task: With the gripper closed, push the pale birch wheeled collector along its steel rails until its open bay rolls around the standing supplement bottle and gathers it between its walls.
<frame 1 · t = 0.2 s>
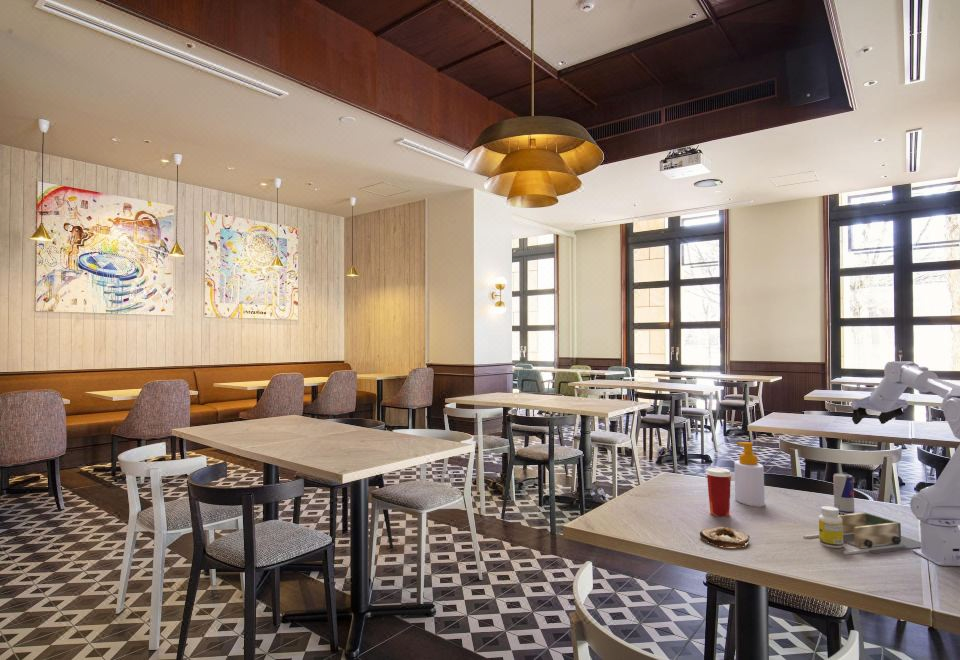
hand: (867, 421, 164), 31 cm above the table, tool tilted 45°, fingers open, 7 cm apart
paper cup: (719, 514, 174), on the table
supplement bottle: (831, 545, 145), on the table
ring pastry: (724, 543, 149), on the table
energy drink: (844, 513, 174), on the table
soap bottle: (749, 502, 187), on the table
track: (866, 540, 148), on the table
cart: (861, 529, 148), point 3 cm above the table, slide at 0.0 cm
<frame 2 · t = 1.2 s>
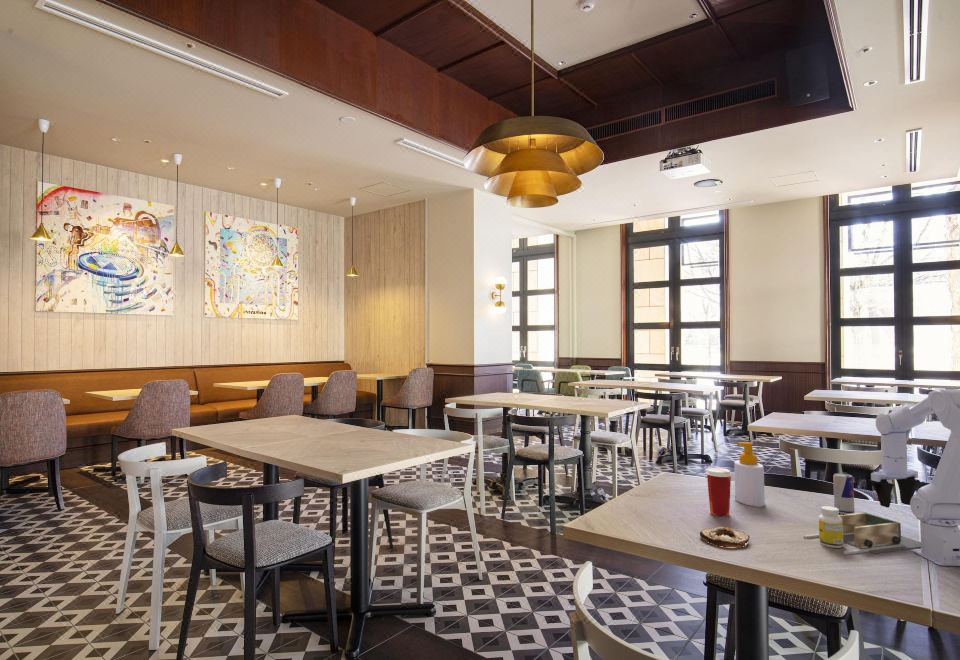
hand: (895, 505, 152), 9 cm above the table, tool pointing down, fingers open, 7 cm apart
nothing on the table moved.
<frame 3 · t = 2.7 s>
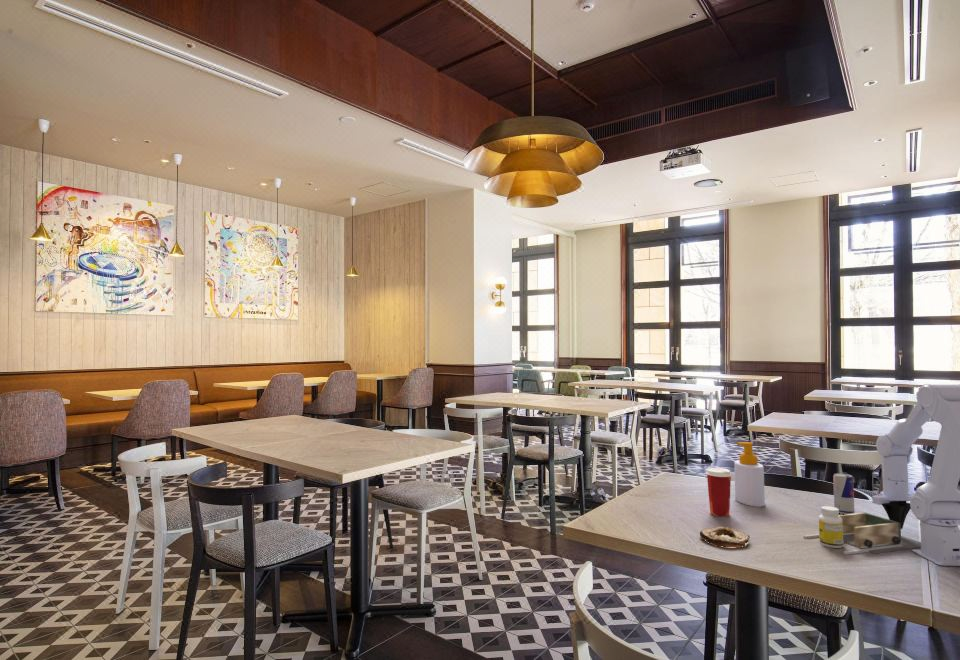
hand: (897, 528, 151), 2 cm above the table, tool pointing down, fingers closed
nothing on the table moved.
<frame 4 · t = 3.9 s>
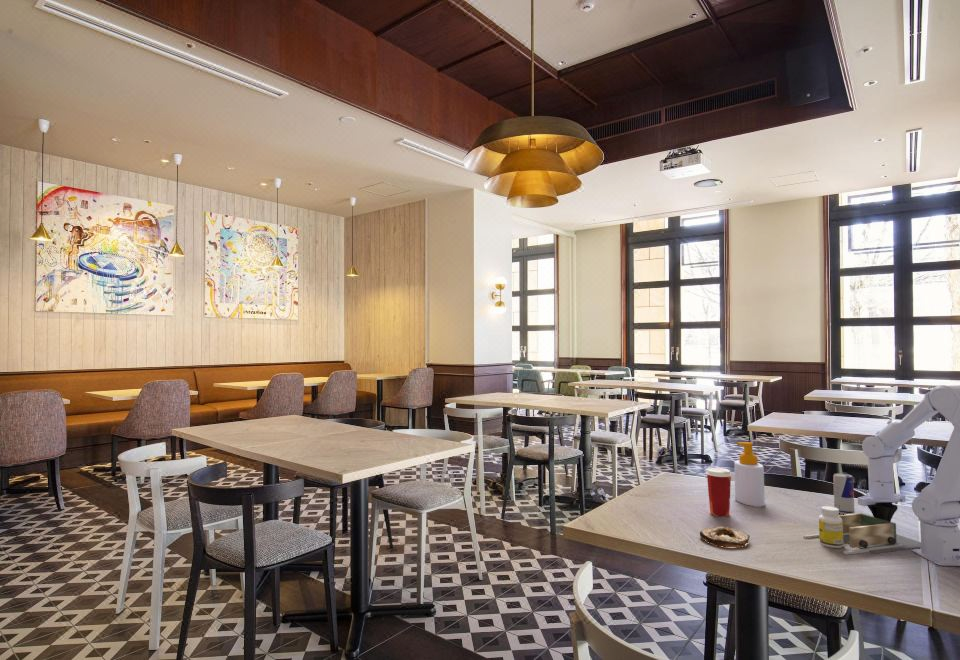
hand: (882, 529, 150), 2 cm above the table, tool pointing down, fingers closed
cart: (857, 529, 148), point 3 cm above the table, slide at 1.6 cm, touching gripper
everything else where it was.
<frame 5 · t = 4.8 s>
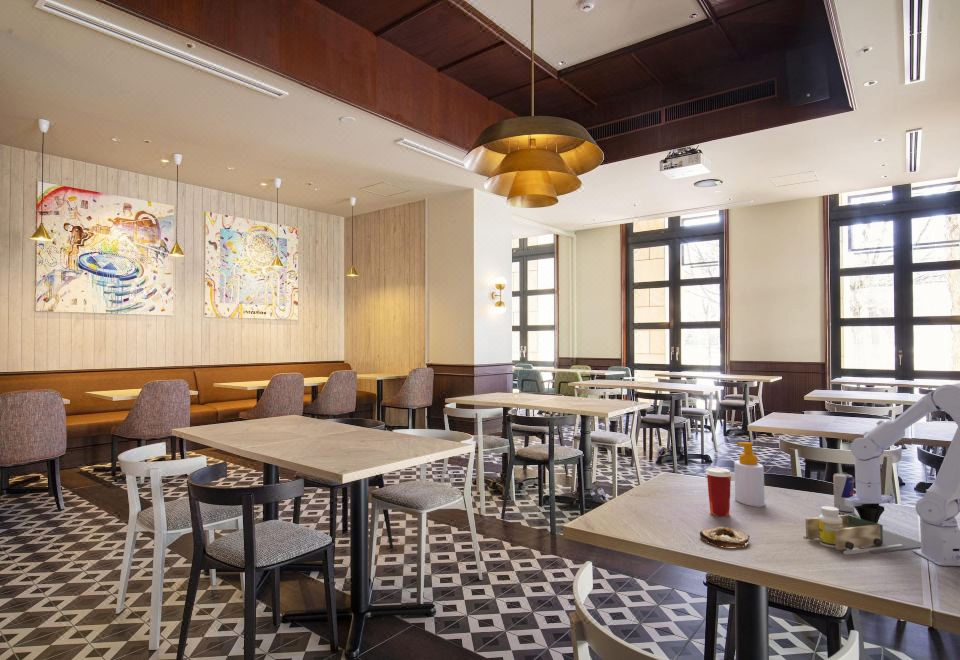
hand: (869, 531, 149), 2 cm above the table, tool pointing down, fingers closed
cart: (843, 531, 146), point 3 cm above the table, slide at 6.2 cm, touching gripper
everything else where it was.
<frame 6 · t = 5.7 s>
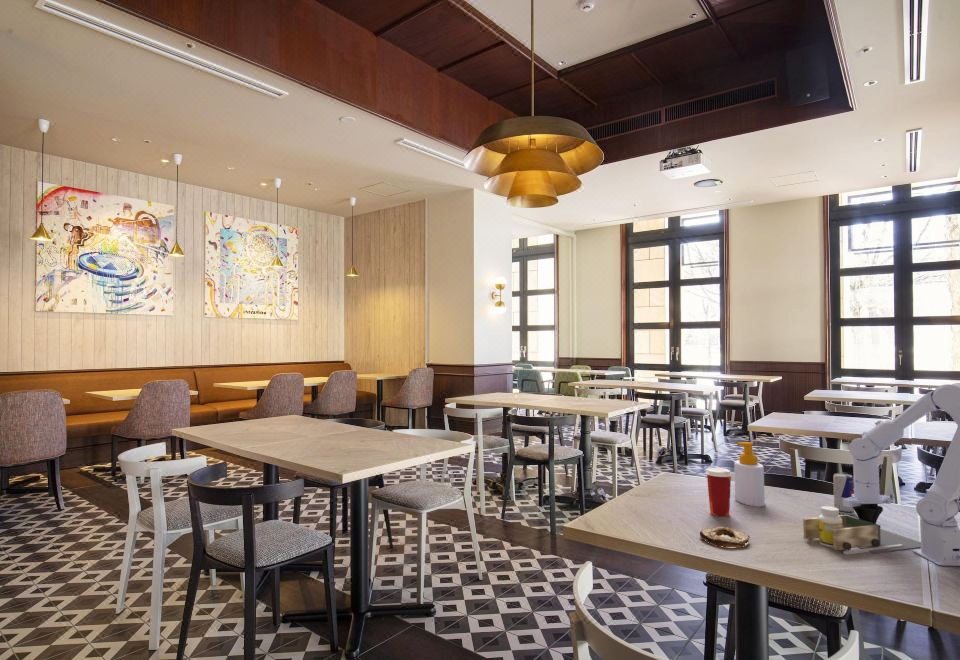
hand: (868, 531, 149), 2 cm above the table, tool pointing down, fingers closed
cart: (841, 531, 146), point 3 cm above the table, slide at 7.0 cm
everything else where it was.
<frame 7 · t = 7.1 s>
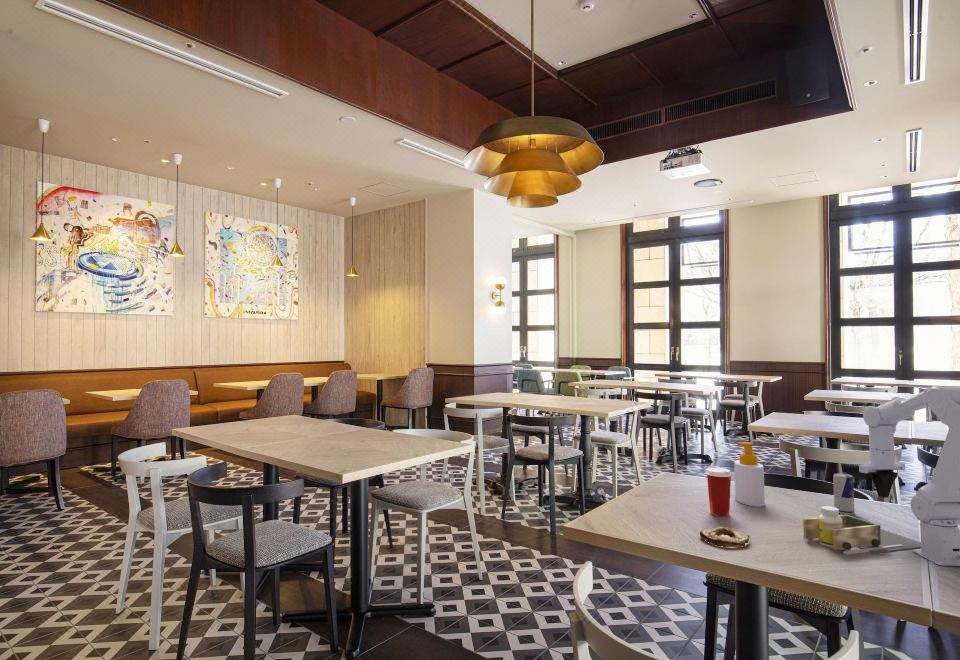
hand: (883, 496, 154), 10 cm above the table, tool pointing down, fingers closed
nothing on the table moved.
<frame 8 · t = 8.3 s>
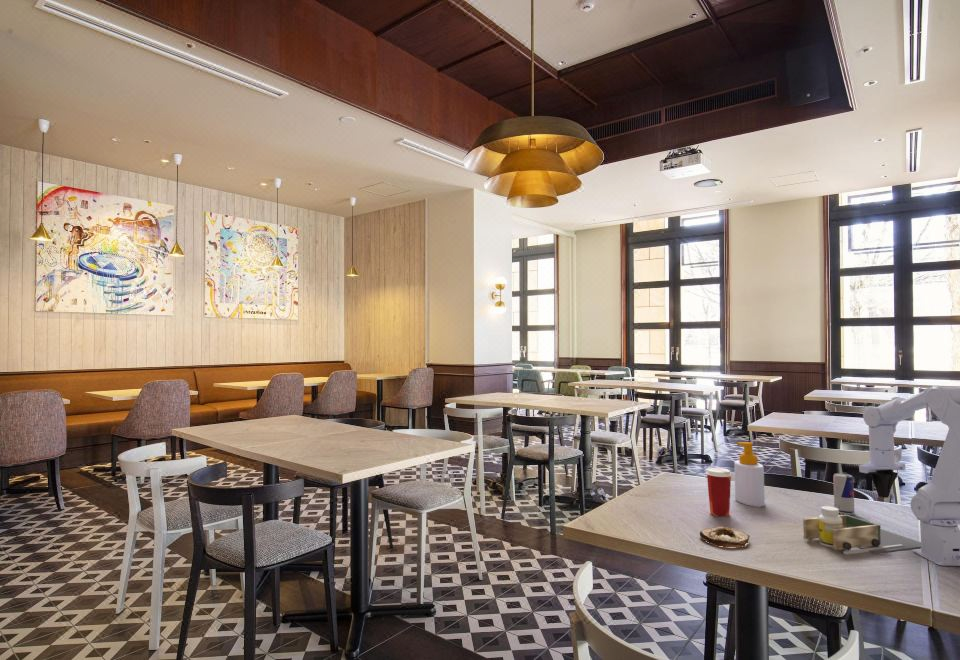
hand: (883, 496, 154), 10 cm above the table, tool pointing down, fingers closed
nothing on the table moved.
at the end: cart slide at 7.0 cm; supplement bottle 0.3 cm from the target spot on the cart, point 0.0 cm above the cart's base; supplement bottle tilted 0° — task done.
